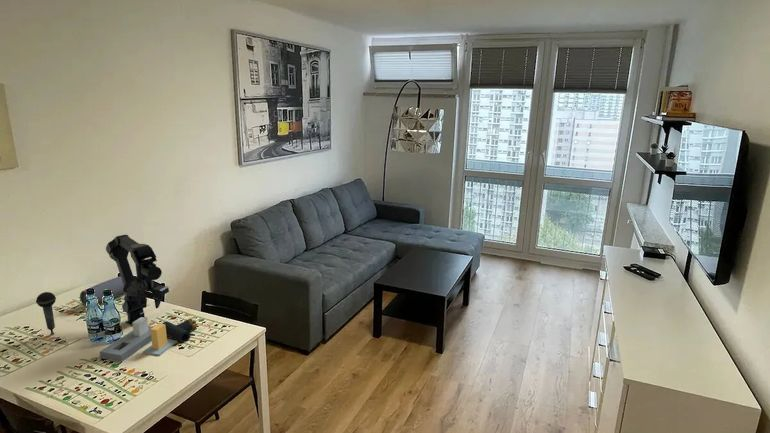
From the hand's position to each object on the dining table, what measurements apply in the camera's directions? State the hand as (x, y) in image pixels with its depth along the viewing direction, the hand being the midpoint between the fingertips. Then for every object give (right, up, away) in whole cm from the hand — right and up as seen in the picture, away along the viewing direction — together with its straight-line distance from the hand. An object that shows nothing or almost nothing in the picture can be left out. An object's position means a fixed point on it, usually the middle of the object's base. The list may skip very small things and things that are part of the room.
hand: (148, 306), depth 193 cm
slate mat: (+10, -15, -9) cm, 20 cm away
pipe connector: (+14, -13, +2) cm, 19 cm away
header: (-2, -15, -8) cm, 17 cm away
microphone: (-41, -12, -2) cm, 42 cm away
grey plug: (-1, -13, -3) cm, 14 cm away
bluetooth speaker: (-38, -3, +32) cm, 49 cm away
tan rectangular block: (+10, -15, -9) cm, 20 cm away
